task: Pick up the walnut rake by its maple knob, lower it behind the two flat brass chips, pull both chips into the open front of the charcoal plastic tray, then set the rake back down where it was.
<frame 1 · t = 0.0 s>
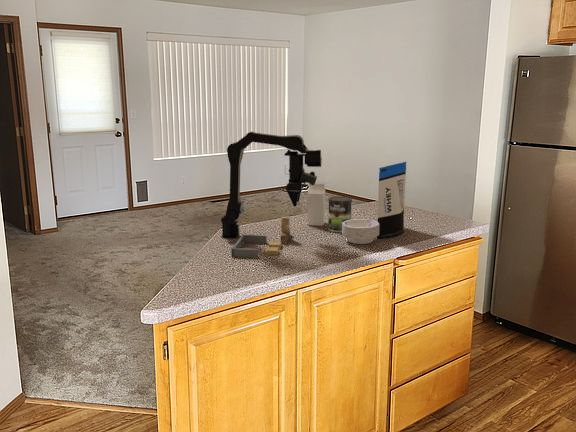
hand: (296, 203, 220), 15 cm above the worktop, tool pointing down, fingers open, 9 cm apart
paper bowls: (360, 241, 218), on the worktop
chip a: (272, 254, 203), on the worktop
protein powder: (390, 233, 230), on the worktop
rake: (285, 239, 222), on the worktop
milk carton: (316, 224, 247), on the worktop
chip b: (275, 247, 211), on the worktop
tray: (249, 249, 208), on the worktop
coffee can: (339, 229, 237), on the worktop
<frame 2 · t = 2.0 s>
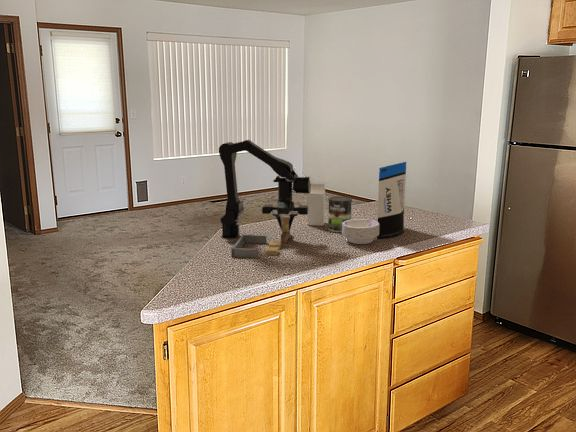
hand: (285, 229, 221), 4 cm above the worktop, tool pointing down, fingers closed on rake, 3 cm apart
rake: (285, 239, 222), on the worktop, touching gripper
everything else where it was.
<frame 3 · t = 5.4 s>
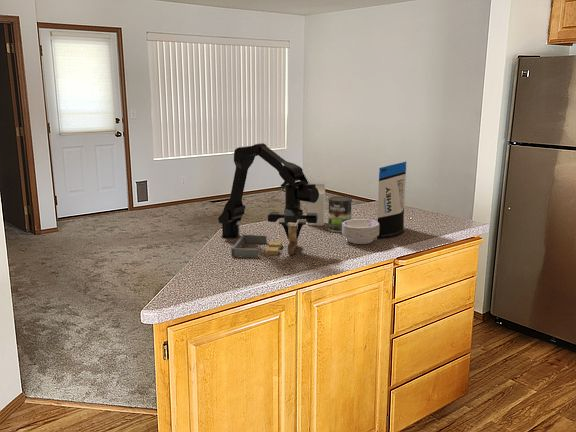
hand: (292, 238, 205), 5 cm above the worktop, tool pointing down, fingers closed on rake, 3 cm apart
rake: (292, 248, 206), point 1 cm above the worktop, touching gripper
everything else where it was.
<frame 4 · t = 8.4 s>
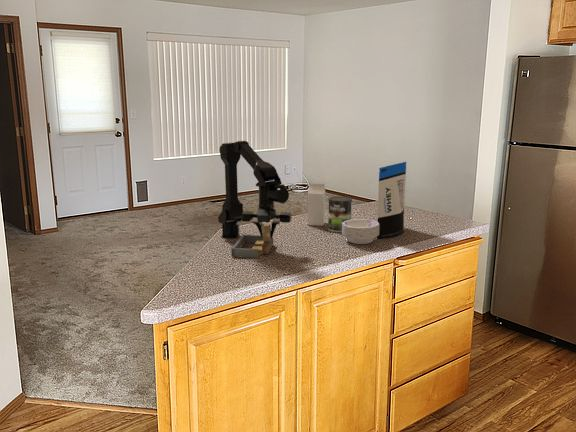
hand: (266, 238, 206), 5 cm above the worktop, tool pointing down, fingers closed on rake, 3 cm apart
chip a: (257, 253, 203), on the worktop, touching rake
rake: (268, 248, 207), on the worktop, tilted 5°, touching chip a, gripper
chip b: (261, 247, 212), on the worktop
everything else where it was.
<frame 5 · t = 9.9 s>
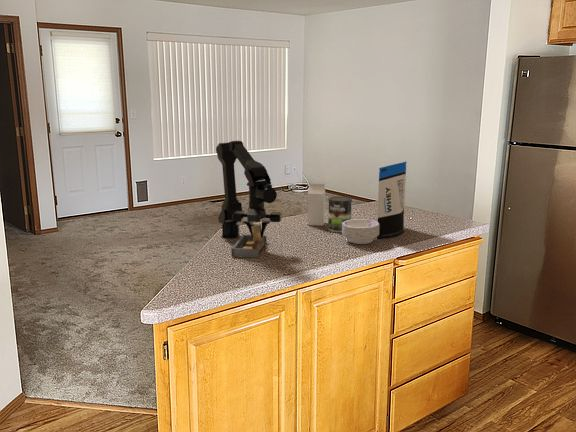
hand: (257, 237, 206), 5 cm above the worktop, tool pointing down, fingers closed on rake, 3 cm apart
chip a: (248, 253, 204), on the worktop, touching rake
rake: (259, 248, 207), on the worktop, tilted 6°, touching chip a, chip b, gripper
chip b: (252, 247, 212), on the worktop, touching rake
everything else where it was.
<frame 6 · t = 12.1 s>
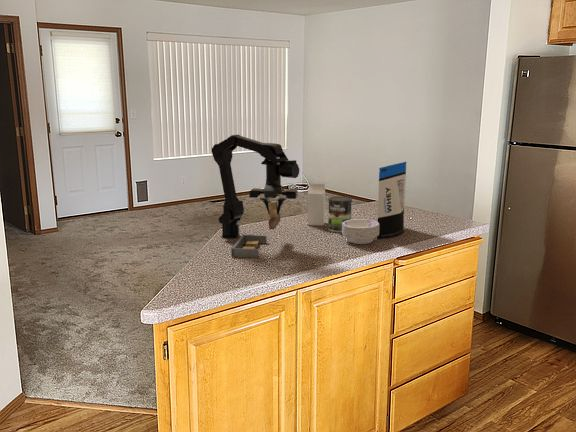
hand: (273, 214, 213), 12 cm above the worktop, tool pointing down, fingers closed on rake, 3 cm apart
chip a: (248, 253, 204), on the worktop
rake: (275, 225, 214), point 8 cm above the worktop, tilted 6°, touching gripper
chip b: (252, 247, 212), on the worktop
everything else where it was.
when the fingers open (5 cm above the worktop, at t = 14.1 s): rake stays where it is, on the worktop.
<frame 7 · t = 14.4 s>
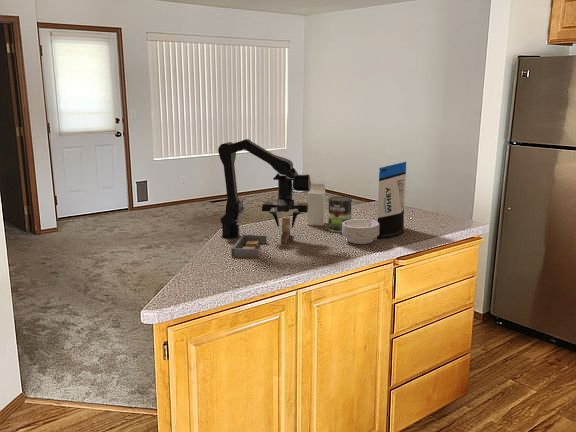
hand: (285, 227, 221), 5 cm above the worktop, tool pointing down, fingers open, 6 cm apart
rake: (285, 239, 222), on the worktop
everything else where it was.
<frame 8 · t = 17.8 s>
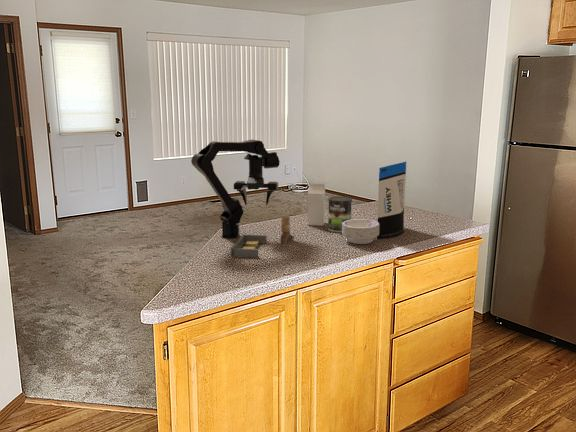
hand: (256, 205, 230), 12 cm above the worktop, tool pointing down, fingers open, 9 cm apart
nothing on the worktop moved.
at the end: chip a inside the target area on the tray (4.3 cm from its centre), point 0.0 cm above the tray's base; chip b inside the target area on the tray (4.2 cm from its centre), point 0.0 cm above the tray's base; the gripper is holding nothing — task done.
